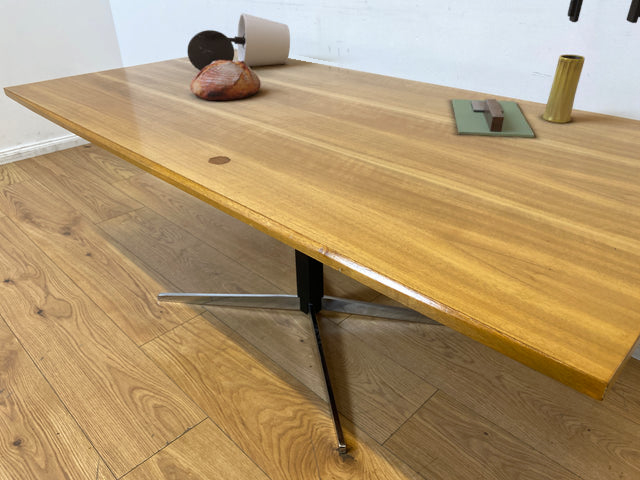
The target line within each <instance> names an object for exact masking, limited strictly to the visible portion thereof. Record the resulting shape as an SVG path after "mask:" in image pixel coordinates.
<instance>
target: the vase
mask: <svg viewBox="0 0 640 480" xmlns="http://www.w3.org/2000/svg"><path fill="white" fill-rule="evenodd" d="M585 58H586V57H585V56H583V55H579V54H561V55H559V56H558V60H557V64H556V69H555V73H554V77H553V80H552V84H551V87H550V92H549V94H548V99H547V102H546V105H545V108H544V109H545V110H544V113H543V115H542V118H543V119H544V120H545V121H547V122H551V123H558V124H563V123H568V122H570V121H571V117H572V112H573V107H574V102H575V97H576V93H577V90H578V86H579V82H580V79H581V75H582V73H583V72H582V71H583V68H584V64H585Z"/></svg>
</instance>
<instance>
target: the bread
mask: <svg viewBox="0 0 640 480" xmlns="http://www.w3.org/2000/svg"><path fill="white" fill-rule="evenodd" d="M261 82H262V81H261V79H260V77H259V76H258V75H257V74H256V73H255V71H254V70H252V69H251V66H247V65H246V63H245V62H244V61H239V60H238V61H234V60H233V61H226V60H217V61H213V62H212V63H211V64H210V65H208V66H205V67H204V68H203V69H202V70H201V71H200V70H199V71H198V72H197V73H196V74H195V76H193V78H192V80H191V81H190V84H189V88H190V89H189V90H190V91H191V93H192V94H193V95H194V96H197V97H199V98H201V99H204V100H208V101H211V102H213V101H234V100H240V99H244V98H249V97H252V96H253V95H255V94H256V93H258V92H259V91H260V89H261V87H262V83H261Z"/></svg>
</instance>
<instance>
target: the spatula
mask: <svg viewBox="0 0 640 480" xmlns="http://www.w3.org/2000/svg"><path fill="white" fill-rule="evenodd" d="M484 100H485V101H471V106H472V109H473V112H481V113H484V116H485V119H486V122H487V124H488V127H489V130H490V132H501V131H502V126H503V121H504V116H503V114H502V113H503V109H502V107H501V105H500V103H499V102H497V101H498V100H497V99H495V98H484Z"/></svg>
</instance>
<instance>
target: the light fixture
mask: <svg viewBox="0 0 640 480" xmlns="http://www.w3.org/2000/svg"><path fill="white" fill-rule="evenodd" d="M290 35H291V33H290V29H289V27H288V24H285V23H282V22H278V21H274V20H270V19H266V18H263V17H260V16H259V17H258V16H255V15H252V14H247V13H243V12H241V14H240V15H239V19H238V24H237V36H236V35H235V36H234V37H228V36H227V35H225V34H224V33H223V32H220V31H217V30H213V29H206V30H202V31H199V32H197V33H195V35H194V36H192V37H191V39H190V40H189V42H188V45H187V50H186V51H187V57H188V61H189V62H190V64H191V65H192V66H193V67H194V68H195V69H197V70H198V71H199V72H200V71H201V70H202V69H203V68H204V67H205V66H208V65H210V64H211V63H212V62H213V61H217V60H226V61H233V62H234V58H235V47H234V45H236V46H237V47H236V48H237V59H238V61H244V62H245V63H246V65H247V66H249V67H260V66H272V65H273V66H274V65H283V64H286V63H287V62H288V60H289V55H290V50H291V49H290V48H291V36H290ZM233 43H234V45H233Z"/></svg>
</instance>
